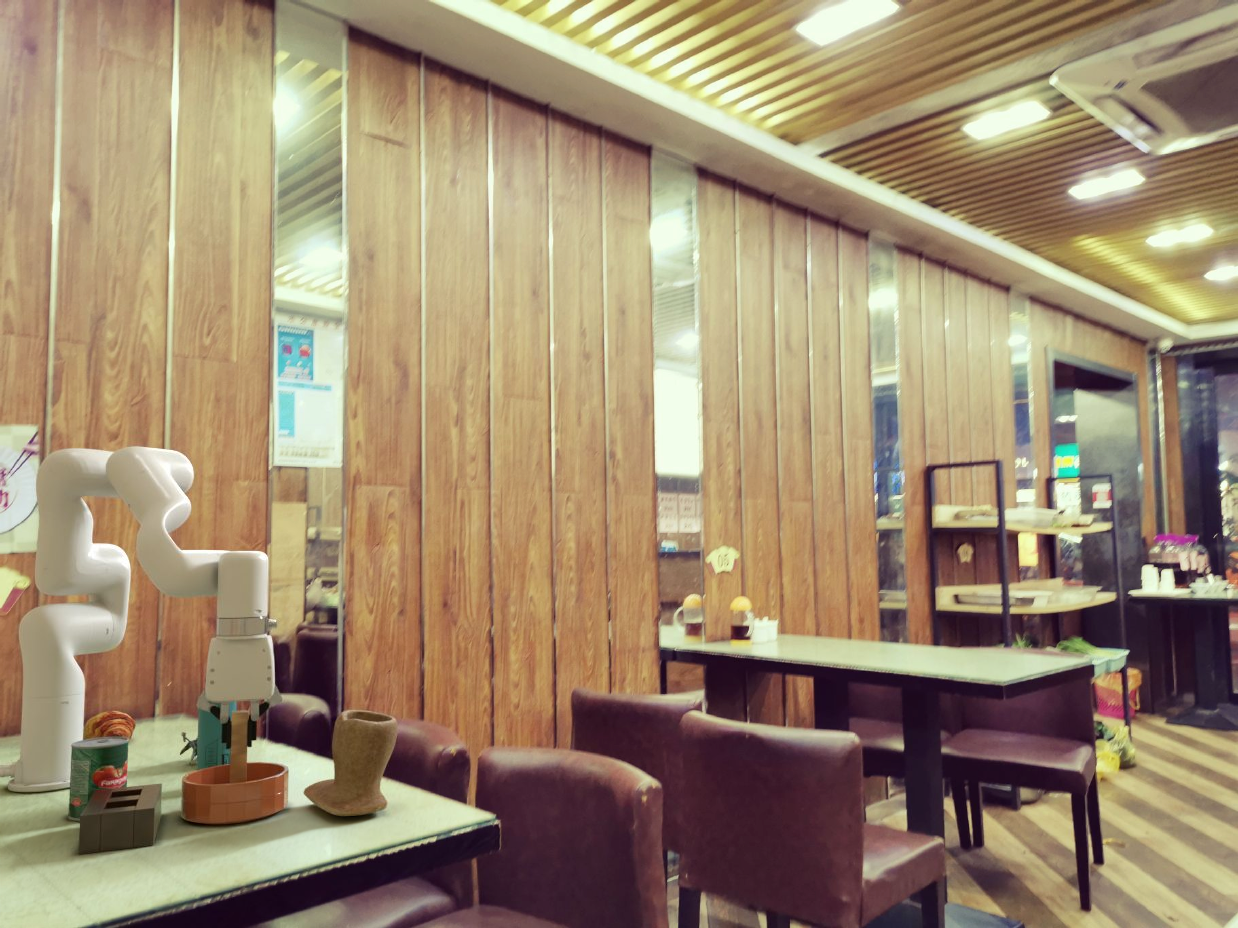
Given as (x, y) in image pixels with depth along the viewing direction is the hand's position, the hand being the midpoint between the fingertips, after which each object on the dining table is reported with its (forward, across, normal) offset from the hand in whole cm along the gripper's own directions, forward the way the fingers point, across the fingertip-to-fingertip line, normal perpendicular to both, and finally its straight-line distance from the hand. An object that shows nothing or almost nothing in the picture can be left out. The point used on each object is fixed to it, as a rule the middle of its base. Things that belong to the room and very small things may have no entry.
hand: (238, 745), depth 146 cm
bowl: (+10, 0, +2) cm, 10 cm away
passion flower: (+10, +4, -39) cm, 41 cm away
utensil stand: (+10, +15, +7) cm, 19 cm away
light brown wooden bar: (+8, 0, 0) cm, 8 cm away
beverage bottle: (+10, +3, -17) cm, 20 cm away
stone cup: (+10, -17, +8) cm, 21 cm away
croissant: (+10, +25, -73) cm, 78 cm away
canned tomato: (+10, +20, -7) cm, 23 cm away
